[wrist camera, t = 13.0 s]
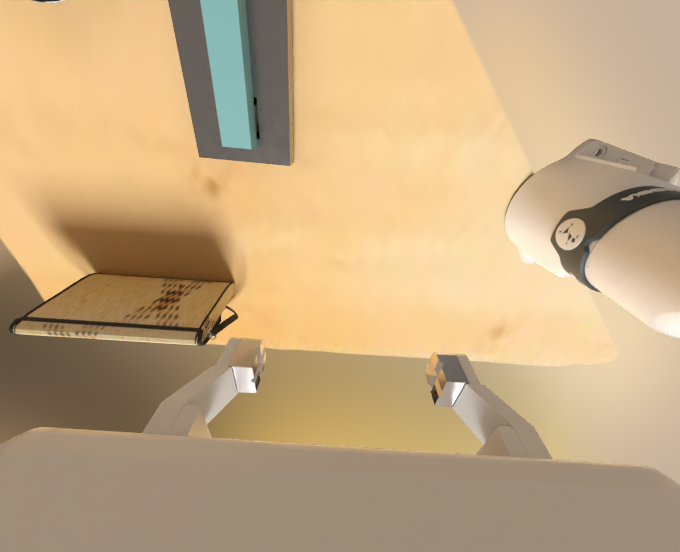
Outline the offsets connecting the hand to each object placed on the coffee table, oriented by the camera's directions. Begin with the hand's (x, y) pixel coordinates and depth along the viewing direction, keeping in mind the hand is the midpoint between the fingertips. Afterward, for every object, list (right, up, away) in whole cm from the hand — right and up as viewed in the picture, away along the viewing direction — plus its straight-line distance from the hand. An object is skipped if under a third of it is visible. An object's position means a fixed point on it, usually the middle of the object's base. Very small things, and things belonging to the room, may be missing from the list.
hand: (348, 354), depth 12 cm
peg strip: (-12, +30, +17) cm, 37 cm away
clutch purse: (-33, +2, +37) cm, 50 cm away
